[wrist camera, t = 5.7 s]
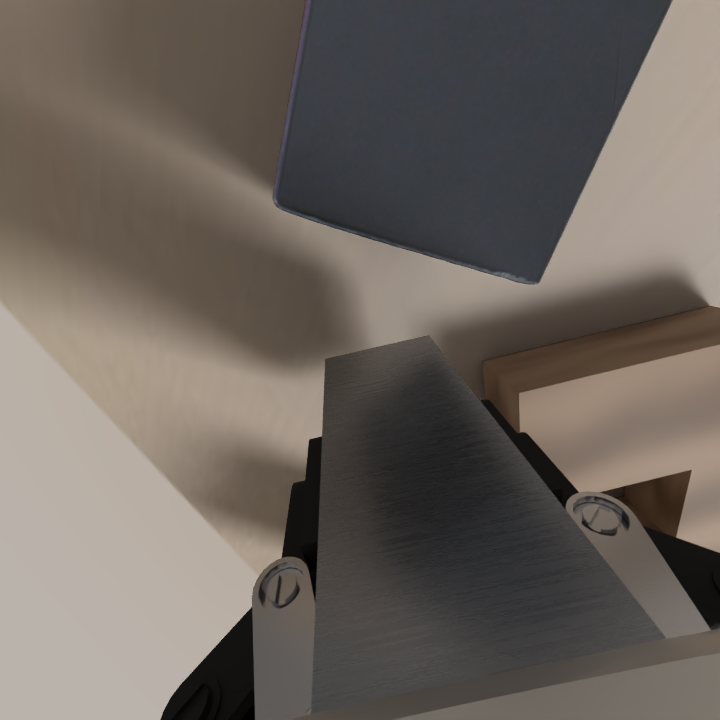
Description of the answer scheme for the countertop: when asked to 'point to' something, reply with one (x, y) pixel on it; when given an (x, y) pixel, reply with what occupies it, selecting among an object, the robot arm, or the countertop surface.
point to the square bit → (443, 541)
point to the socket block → (628, 416)
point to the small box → (457, 120)
